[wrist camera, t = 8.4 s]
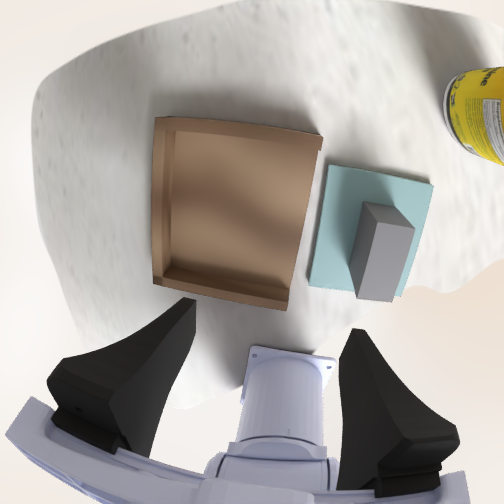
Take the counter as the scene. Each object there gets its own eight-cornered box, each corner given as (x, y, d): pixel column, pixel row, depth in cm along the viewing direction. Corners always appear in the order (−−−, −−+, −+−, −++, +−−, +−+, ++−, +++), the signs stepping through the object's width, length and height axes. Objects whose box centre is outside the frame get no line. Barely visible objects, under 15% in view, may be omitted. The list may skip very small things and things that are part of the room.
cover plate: (397, 289, 22) (415, 328, 18) (308, 279, 23) (309, 319, 19) (428, 182, 18) (460, 203, 14) (327, 162, 19) (337, 178, 14)
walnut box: (287, 294, 23) (286, 311, 21) (163, 270, 24) (153, 283, 22) (320, 135, 18) (323, 137, 16) (169, 116, 18) (155, 117, 17)
